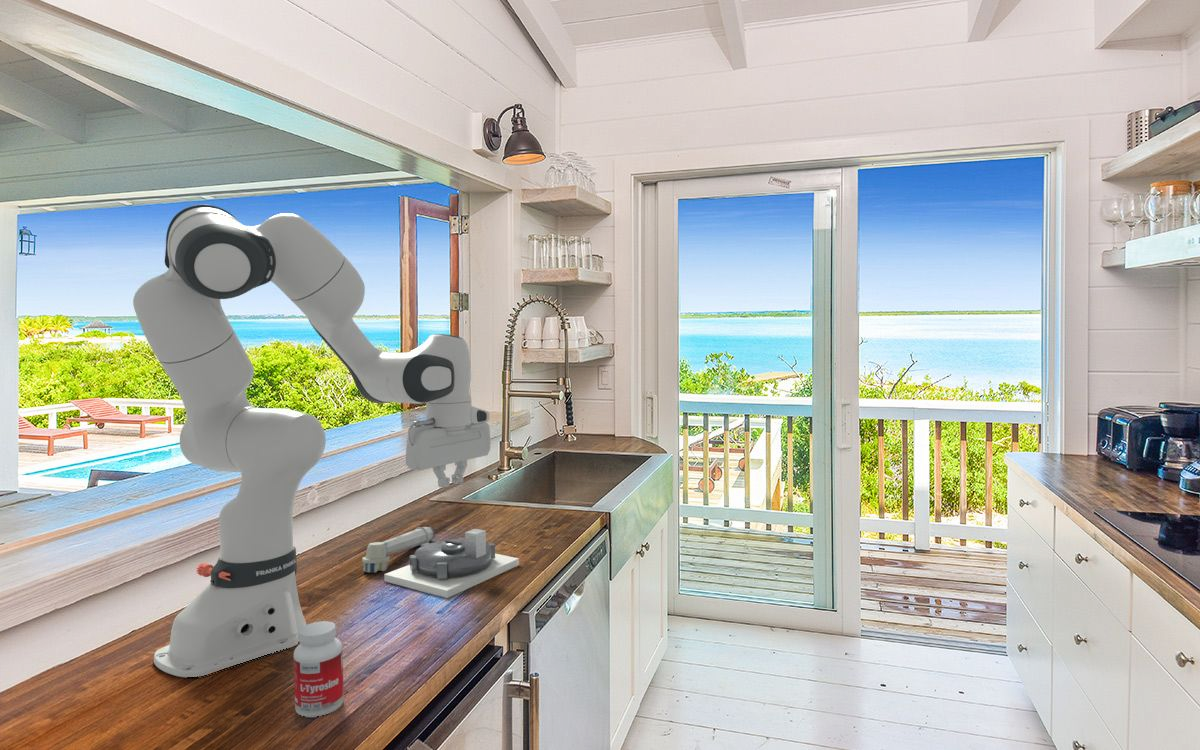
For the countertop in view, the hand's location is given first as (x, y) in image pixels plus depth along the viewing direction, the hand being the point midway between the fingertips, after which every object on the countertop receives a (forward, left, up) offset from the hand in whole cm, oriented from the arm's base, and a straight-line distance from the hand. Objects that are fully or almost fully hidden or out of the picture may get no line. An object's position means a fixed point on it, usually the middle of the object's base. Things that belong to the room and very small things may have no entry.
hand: (450, 485), depth 134 cm
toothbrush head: (+9, +26, -22) cm, 35 cm away
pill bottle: (-41, -16, -21) cm, 49 cm away
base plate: (+7, +6, -21) cm, 23 cm away
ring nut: (+7, +7, -19) cm, 21 cm away
